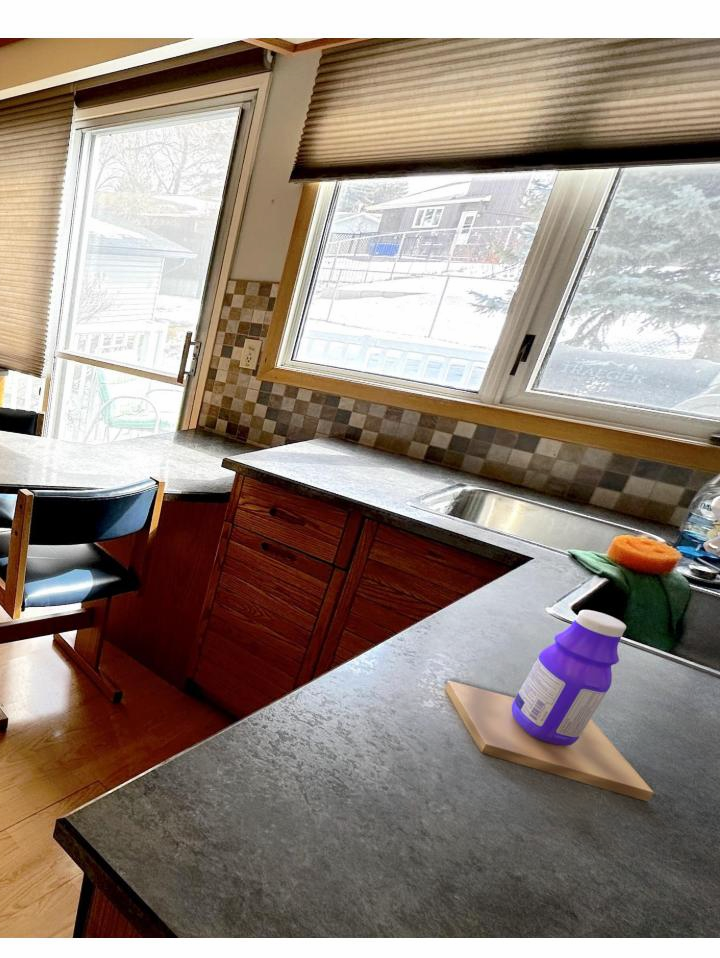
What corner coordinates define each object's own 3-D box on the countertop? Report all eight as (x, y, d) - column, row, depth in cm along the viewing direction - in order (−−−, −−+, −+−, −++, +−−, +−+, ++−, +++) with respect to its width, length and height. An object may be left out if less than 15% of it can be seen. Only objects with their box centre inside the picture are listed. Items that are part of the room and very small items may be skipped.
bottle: (583, 756, 76) (654, 640, 70) (528, 742, 78) (592, 627, 72) (550, 718, 83) (612, 608, 77) (499, 705, 85) (556, 597, 78)
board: (584, 726, 84) (589, 717, 84) (648, 802, 72) (654, 792, 72) (444, 688, 90) (448, 680, 89) (481, 753, 78) (486, 744, 77)
